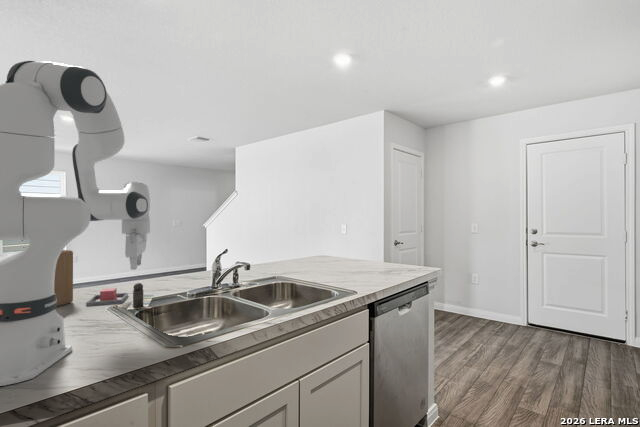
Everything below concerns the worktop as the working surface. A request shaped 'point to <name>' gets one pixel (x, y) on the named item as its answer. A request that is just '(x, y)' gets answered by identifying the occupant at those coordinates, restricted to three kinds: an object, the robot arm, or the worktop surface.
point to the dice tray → (91, 303)
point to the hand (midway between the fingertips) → (136, 267)
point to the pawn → (138, 295)
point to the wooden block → (64, 278)
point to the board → (146, 301)
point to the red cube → (108, 294)
